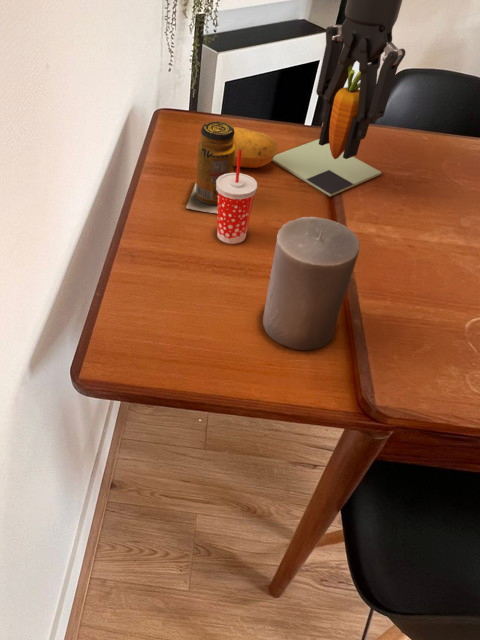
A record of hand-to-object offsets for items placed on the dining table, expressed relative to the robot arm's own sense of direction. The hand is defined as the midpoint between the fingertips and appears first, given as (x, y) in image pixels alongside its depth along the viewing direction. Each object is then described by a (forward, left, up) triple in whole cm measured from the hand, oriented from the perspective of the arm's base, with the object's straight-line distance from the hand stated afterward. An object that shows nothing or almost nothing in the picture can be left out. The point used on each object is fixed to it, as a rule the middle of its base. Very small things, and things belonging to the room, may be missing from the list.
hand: (337, 149), depth 91 cm
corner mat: (+5, -4, -7) cm, 9 cm away
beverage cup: (-2, +25, -7) cm, 26 cm away
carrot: (0, 0, -2) cm, 2 cm away
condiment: (+8, +21, -7) cm, 23 cm away
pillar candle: (-23, +31, -7) cm, 39 cm away
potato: (+15, +9, -7) cm, 19 cm away
